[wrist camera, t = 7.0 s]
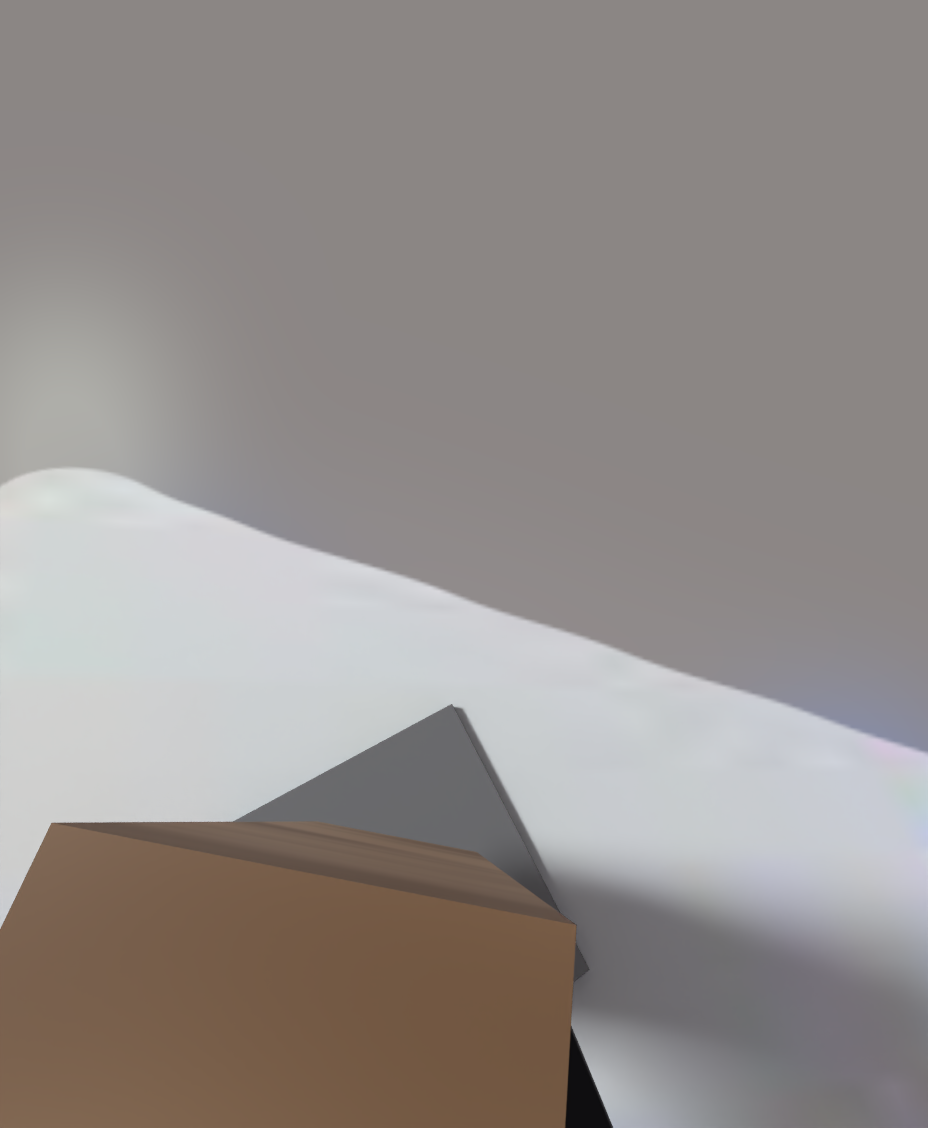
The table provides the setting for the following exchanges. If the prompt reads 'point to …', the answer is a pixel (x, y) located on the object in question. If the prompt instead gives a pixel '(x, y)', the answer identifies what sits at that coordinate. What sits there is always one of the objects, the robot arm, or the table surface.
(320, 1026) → the walnut block
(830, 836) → the table surface
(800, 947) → the table surface
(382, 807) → the mat
